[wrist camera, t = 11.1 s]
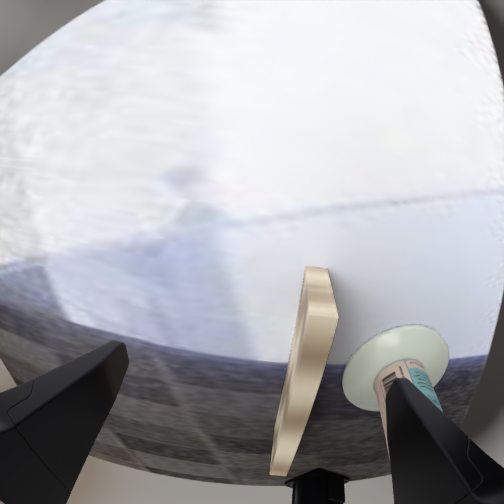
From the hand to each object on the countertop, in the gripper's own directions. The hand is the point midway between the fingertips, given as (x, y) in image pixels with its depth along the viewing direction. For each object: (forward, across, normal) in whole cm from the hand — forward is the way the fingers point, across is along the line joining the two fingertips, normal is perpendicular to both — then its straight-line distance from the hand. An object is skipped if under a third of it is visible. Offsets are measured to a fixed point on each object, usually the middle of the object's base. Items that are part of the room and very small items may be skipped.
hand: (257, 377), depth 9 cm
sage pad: (+12, -12, +10) cm, 20 cm away
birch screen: (+12, -3, +10) cm, 16 cm away
